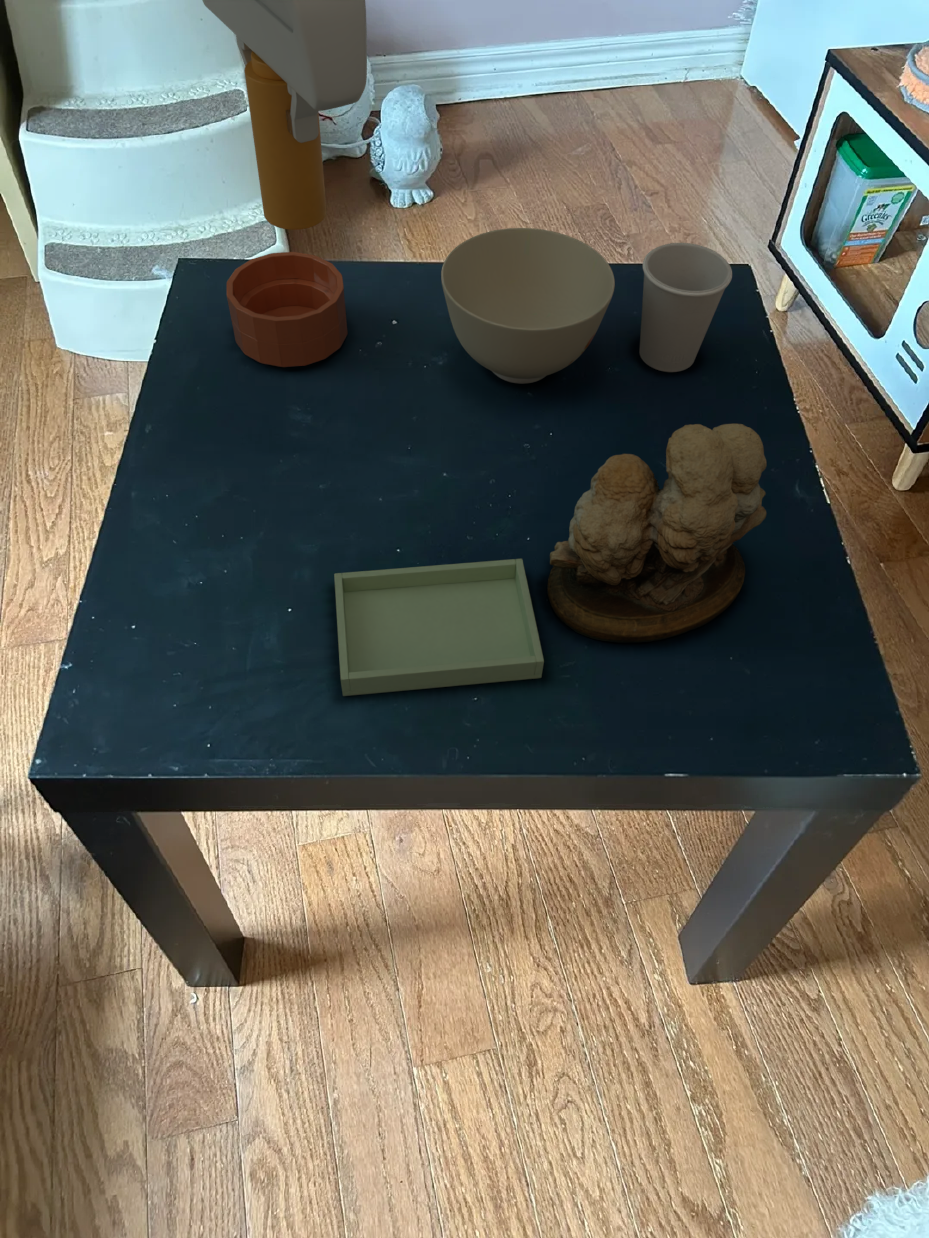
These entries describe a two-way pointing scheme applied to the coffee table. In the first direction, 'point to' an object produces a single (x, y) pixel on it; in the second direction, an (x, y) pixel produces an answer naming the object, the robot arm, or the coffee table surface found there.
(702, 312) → the dixie cup
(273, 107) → the bottle
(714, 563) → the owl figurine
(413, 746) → the coffee table surface
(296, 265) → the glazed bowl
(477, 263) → the bowl
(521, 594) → the tray
